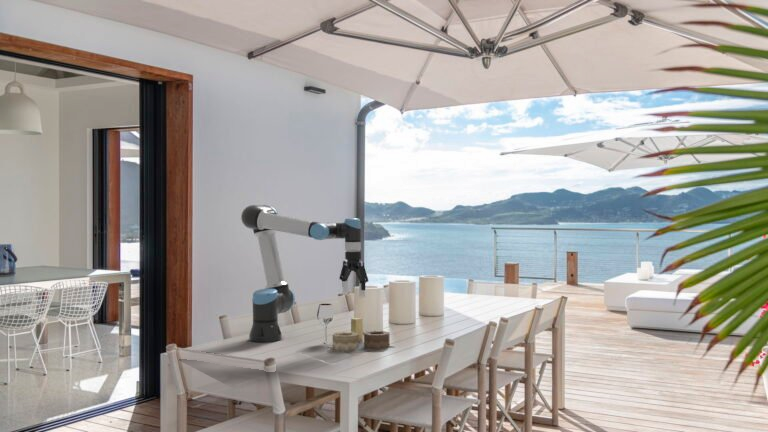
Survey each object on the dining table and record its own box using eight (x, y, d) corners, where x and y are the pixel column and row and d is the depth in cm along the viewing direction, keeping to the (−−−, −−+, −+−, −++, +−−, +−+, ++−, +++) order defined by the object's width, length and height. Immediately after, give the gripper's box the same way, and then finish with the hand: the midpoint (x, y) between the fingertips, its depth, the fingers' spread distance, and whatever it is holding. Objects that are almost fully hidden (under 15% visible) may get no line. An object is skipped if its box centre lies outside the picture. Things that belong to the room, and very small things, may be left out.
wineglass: (320, 346, 298) (320, 306, 298) (314, 343, 305) (313, 304, 305) (337, 344, 302) (337, 304, 302) (330, 341, 309) (330, 302, 309)
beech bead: (341, 351, 284) (341, 337, 283) (328, 347, 292) (328, 333, 292) (362, 348, 290) (362, 334, 290) (349, 344, 298) (349, 331, 298)
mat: (350, 355, 278) (350, 354, 278) (327, 348, 293) (327, 347, 293) (396, 348, 292) (396, 347, 292) (372, 342, 307) (372, 340, 307)
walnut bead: (374, 350, 286) (373, 336, 286) (360, 346, 295) (360, 332, 295) (393, 347, 292) (393, 333, 292) (379, 343, 301) (379, 330, 301)
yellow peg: (355, 343, 304) (355, 319, 304) (351, 342, 307) (350, 318, 307) (362, 342, 306) (362, 318, 306) (358, 341, 309) (357, 317, 309)
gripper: (375, 251, 307) (376, 297, 307) (344, 249, 327) (345, 293, 327) (362, 252, 302) (362, 299, 302) (331, 250, 322) (332, 294, 322)
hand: (353, 296), depth 315 cm, fingers open, 13 cm apart
